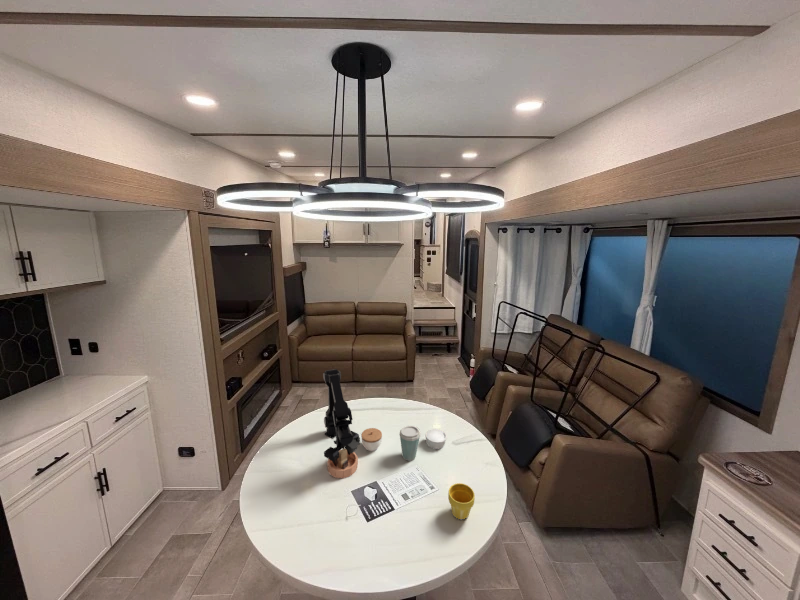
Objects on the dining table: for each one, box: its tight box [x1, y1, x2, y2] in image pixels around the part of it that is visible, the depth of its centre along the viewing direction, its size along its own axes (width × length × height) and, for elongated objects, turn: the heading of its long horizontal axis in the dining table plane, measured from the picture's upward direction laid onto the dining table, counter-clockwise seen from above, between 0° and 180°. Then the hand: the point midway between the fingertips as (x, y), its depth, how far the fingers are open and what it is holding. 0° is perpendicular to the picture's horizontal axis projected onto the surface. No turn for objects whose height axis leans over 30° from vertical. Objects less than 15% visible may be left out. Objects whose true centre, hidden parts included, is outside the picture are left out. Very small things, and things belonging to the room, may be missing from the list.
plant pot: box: [447, 482, 476, 520], centre depth 128 cm, size 10×10×10 cm
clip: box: [342, 460, 348, 469], centre depth 152 cm, size 4×3×3 cm
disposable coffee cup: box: [399, 425, 422, 462], centre depth 159 cm, size 11×11×15 cm
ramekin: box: [424, 428, 448, 450], centre depth 169 cm, size 11×11×5 cm
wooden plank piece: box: [338, 447, 347, 469], centre depth 151 cm, size 2×4×8 cm, turn 148°
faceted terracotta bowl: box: [326, 449, 359, 479], centre depth 152 cm, size 14×14×4 cm
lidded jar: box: [360, 427, 383, 452], centre depth 165 cm, size 11×11×9 cm
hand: (342, 460), depth 151 cm, fingers open, 9 cm apart
